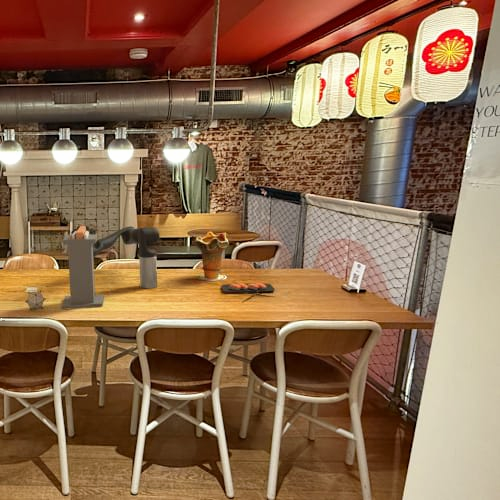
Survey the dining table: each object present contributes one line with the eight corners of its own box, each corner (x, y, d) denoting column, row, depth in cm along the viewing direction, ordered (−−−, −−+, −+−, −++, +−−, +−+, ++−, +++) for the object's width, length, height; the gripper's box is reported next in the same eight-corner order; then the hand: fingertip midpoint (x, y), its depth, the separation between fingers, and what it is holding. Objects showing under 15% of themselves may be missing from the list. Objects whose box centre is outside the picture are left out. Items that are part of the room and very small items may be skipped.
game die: (31, 316, 191) (17, 300, 189) (46, 305, 197) (32, 289, 195) (38, 311, 185) (23, 294, 183) (53, 300, 191) (39, 283, 189)
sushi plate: (270, 286, 241) (270, 280, 240) (282, 302, 212) (283, 295, 211) (220, 287, 236) (220, 281, 235) (226, 304, 206) (226, 296, 206)
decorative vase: (190, 280, 244) (191, 233, 240) (199, 273, 267) (200, 230, 263) (224, 283, 242) (226, 235, 238) (231, 275, 265) (232, 231, 261)
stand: (104, 295, 212) (101, 230, 206) (102, 306, 196) (99, 235, 190) (66, 298, 207) (62, 230, 201) (61, 309, 191) (56, 236, 185)
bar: (80, 232, 212) (80, 226, 211) (87, 231, 213) (86, 226, 212) (76, 238, 191) (75, 232, 190) (83, 238, 192) (82, 232, 191)
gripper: (99, 245, 223) (97, 234, 208) (71, 246, 219) (67, 234, 204) (99, 232, 226) (97, 220, 210) (71, 233, 222) (67, 220, 206)
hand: (82, 227), depth 207 cm, fingers closed on bar, 3 cm apart
